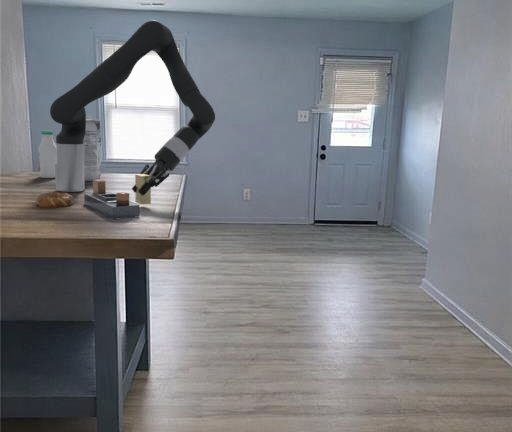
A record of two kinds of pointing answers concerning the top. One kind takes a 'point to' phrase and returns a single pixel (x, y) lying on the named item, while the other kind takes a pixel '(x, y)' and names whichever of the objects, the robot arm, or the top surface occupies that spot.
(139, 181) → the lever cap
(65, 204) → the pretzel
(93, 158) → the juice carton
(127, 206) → the plane body
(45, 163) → the milk bottle
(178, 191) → the top surface
